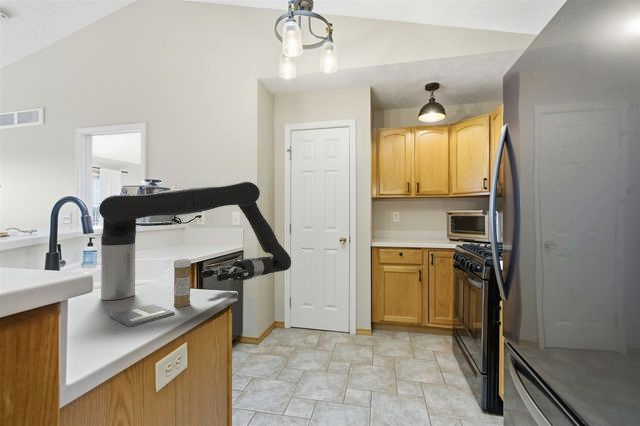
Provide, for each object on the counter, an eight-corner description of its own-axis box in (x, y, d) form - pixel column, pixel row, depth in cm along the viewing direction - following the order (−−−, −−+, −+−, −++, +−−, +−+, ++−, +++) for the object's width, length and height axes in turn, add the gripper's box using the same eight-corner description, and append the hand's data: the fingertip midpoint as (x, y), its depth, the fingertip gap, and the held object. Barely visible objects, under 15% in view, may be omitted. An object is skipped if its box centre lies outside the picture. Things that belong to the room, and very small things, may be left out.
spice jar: (177, 303, 88) (177, 258, 89) (192, 302, 89) (192, 258, 89) (170, 307, 84) (171, 261, 84) (187, 307, 84) (187, 261, 84)
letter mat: (109, 317, 76) (109, 314, 76) (152, 306, 85) (152, 303, 85) (129, 327, 69) (129, 324, 70) (174, 314, 78) (174, 311, 79)
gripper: (235, 257, 112) (196, 262, 98) (261, 260, 103) (223, 266, 90) (235, 276, 111) (196, 284, 98) (261, 281, 103) (223, 291, 90)
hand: (209, 276), depth 94 cm, fingers open, 8 cm apart
